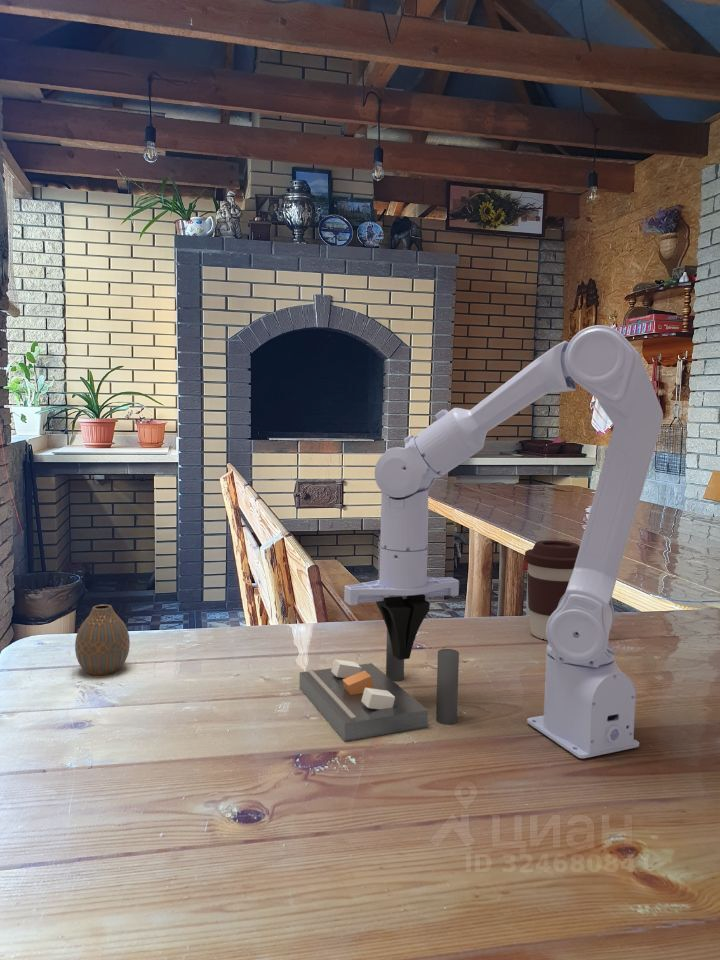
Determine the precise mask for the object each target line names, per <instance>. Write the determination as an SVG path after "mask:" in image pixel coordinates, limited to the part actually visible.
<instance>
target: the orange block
mask: <svg viewBox="0 0 720 960" xmlns="http://www.w3.org/2000/svg"><path fill="white" fill-rule="evenodd" d="M342 681H343V684H344V688H345V690H346V691H347V692H348V693H349V694H350V695H353V694H360V693H364V689H365V688H372V689H374V686H373V682H372V678H371V676H370V675H369V674H368V673H367V672H366V671H362V672H360V673H357V674H355V675H352V676H350V677H348V678H345V679H343V680H342Z"/></svg>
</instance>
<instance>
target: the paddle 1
mask: <svg viewBox="0 0 720 960" xmlns="http://www.w3.org/2000/svg"><path fill="white" fill-rule="evenodd" d="M359 665H360V664H359V663H357V662H355V661H349V660H342V659H337V658H335V659H333V662H332V666H331V668H332V670H331V672H332V673H333V674H334V675H335V676H336V677H341V678H348V677H350V676H352V675H355V674H357V673H360V671H361V667H360V666H359Z"/></svg>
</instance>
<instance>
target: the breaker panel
mask: <svg viewBox="0 0 720 960" xmlns="http://www.w3.org/2000/svg"><path fill="white" fill-rule="evenodd" d="M358 665H359V666H360V667H361V671H360V672H362V671H366V672H367V673H368V674H369V675H370V676H371V678H372V682H373V686H374V689H379V690H386V691H389V692H390V693H391V694H392V695H393V696H394V697H395V700H394V704H393V708H386V709H372V708H368V707H367V706H366V705H365V704H364V703H363V702H362V701H361V700H362V696H363V693H360V694H353V695H350V694H349V693H348V692H347V691H346V690H345V688H344V684H343V681H342V680H343V679H345V678H341V677H336V676H335V675H334V674H333V673H332V672H331V670H332V667H331V668H324V669H316V670H313V669H310V670H307V671H300V672H299V689H300V690H301V691H302V693H303V694H304V695H305V697H307V698H308V699H309V701H310V702H311V703H312V705H314V707H315V708H316V710H318V711H319V713H320V714H321V715H322V717H324V719H325V720H326V721H327V723H329V725H330V726H331V727H332V728H333V729H334V732H336V733H337V734H338V736H340V738H341V739H342V740H343V742H349V741H355V740H356V741H357V740H361V739H366V738H367V739H368V738H372V737H373V738H374V737H379V736H384V735H390V734H396V733H401V732H407V731H413V730H419V729H420V730H421V729H425V728H428V721H429V718H428V716H429V710H428V709H427V708H426V707H425V706H424V705H422V704H421V703H420V702H419V701H418V700H417V699H416V698H414V697H413V696H412V695H411V694H409V693H408V692H406V690H404V689H403V688H402V687H401V686H399V684H397V683H396V681H392V680H391V679H390V678H389V677H388V676H386V673H384V672H383V671H381V670H380V669H379V668H378V667H377V666H376V665H374V664H373V663H372V662H370V663H363V664H358Z"/></svg>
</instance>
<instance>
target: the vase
mask: <svg viewBox="0 0 720 960" xmlns="http://www.w3.org/2000/svg"><path fill="white" fill-rule="evenodd" d="M91 608H92V609H91V611H90V613H89V614H88V616H87V617H86V618H85V620H84V621H83V622H82V624H81V626H80V627H79V629H78V630H77V634H76V636H75V641H74V642H75V643H74V651H75V657H76V660H77V662H78V664H79V666H80V667H81V668H82V669H83V670H84V671H85V672H86V673H87V674H89V675H92V676H104V675H110V674H114V673H116V672H117V671H118V670H120V669H121V667H122V666H123V665H124V664H125V663H126V661H127V659H128V657H129V652H130V647H131V645H130V634H129V630H128V627H127V625H126V624H125V622H124V621H123V620H122V619H121V618H120V616H119V615H117V613H116V612H115V610H114V608H113V607H112V605H111V604H106V603H105V604H97V605H94V606H92V607H91Z"/></svg>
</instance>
